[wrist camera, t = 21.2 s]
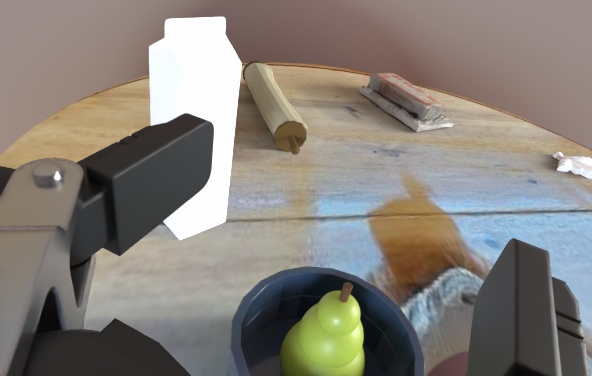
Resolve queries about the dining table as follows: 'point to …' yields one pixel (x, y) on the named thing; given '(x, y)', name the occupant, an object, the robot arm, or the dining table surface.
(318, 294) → the pot
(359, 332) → the pear
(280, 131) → the rolling pin
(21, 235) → the robot arm
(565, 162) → the acanthus leaf ornament
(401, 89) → the packaged product
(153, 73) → the milk
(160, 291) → the dining table surface
